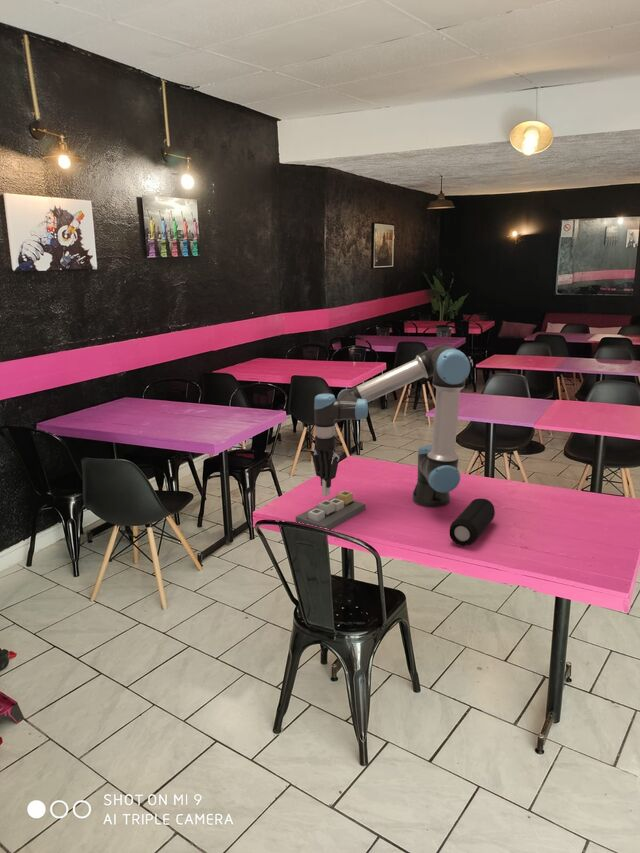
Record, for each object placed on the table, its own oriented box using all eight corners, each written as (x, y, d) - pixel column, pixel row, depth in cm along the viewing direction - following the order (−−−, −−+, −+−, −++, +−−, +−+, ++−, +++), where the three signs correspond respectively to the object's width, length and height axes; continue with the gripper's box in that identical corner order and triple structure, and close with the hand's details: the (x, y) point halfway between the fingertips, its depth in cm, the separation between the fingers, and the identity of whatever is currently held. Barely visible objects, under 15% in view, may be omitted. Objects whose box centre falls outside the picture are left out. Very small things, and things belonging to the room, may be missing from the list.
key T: (343, 508, 245) (343, 500, 244) (337, 512, 242) (336, 504, 241) (335, 506, 248) (335, 498, 247) (328, 509, 245) (328, 501, 244)
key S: (353, 500, 249) (352, 492, 248) (346, 504, 246) (346, 496, 245) (344, 498, 252) (344, 490, 251) (337, 501, 249) (337, 493, 248)
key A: (334, 510, 240) (334, 502, 239) (327, 514, 237) (327, 506, 236) (325, 507, 243) (325, 499, 242) (318, 511, 240) (318, 503, 239)
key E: (324, 519, 236) (324, 510, 235) (317, 523, 233) (317, 514, 232) (315, 516, 239) (315, 507, 238) (308, 520, 236) (308, 511, 235)
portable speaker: (470, 518, 240) (471, 493, 237) (496, 523, 235) (497, 499, 232) (446, 545, 219) (447, 518, 216) (474, 551, 214) (475, 525, 211)
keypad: (365, 509, 249) (365, 503, 248) (324, 532, 229) (324, 526, 229) (337, 501, 257) (337, 495, 256) (295, 522, 238) (295, 516, 237)
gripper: (345, 436, 230) (345, 495, 237) (317, 430, 238) (319, 487, 245) (332, 441, 225) (333, 501, 231) (305, 435, 233) (306, 493, 239)
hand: (326, 494), depth 238 cm, fingers closed
